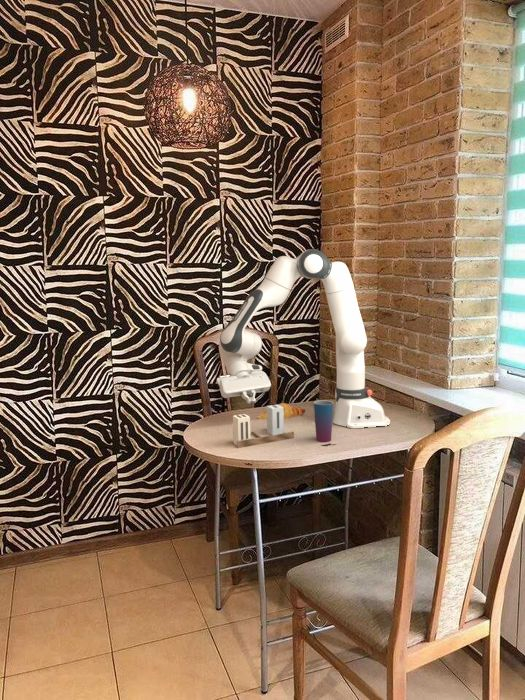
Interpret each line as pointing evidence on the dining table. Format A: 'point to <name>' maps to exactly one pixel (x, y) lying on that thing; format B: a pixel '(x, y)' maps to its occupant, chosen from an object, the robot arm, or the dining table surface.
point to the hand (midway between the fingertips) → (252, 402)
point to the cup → (323, 420)
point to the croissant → (285, 411)
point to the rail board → (264, 439)
